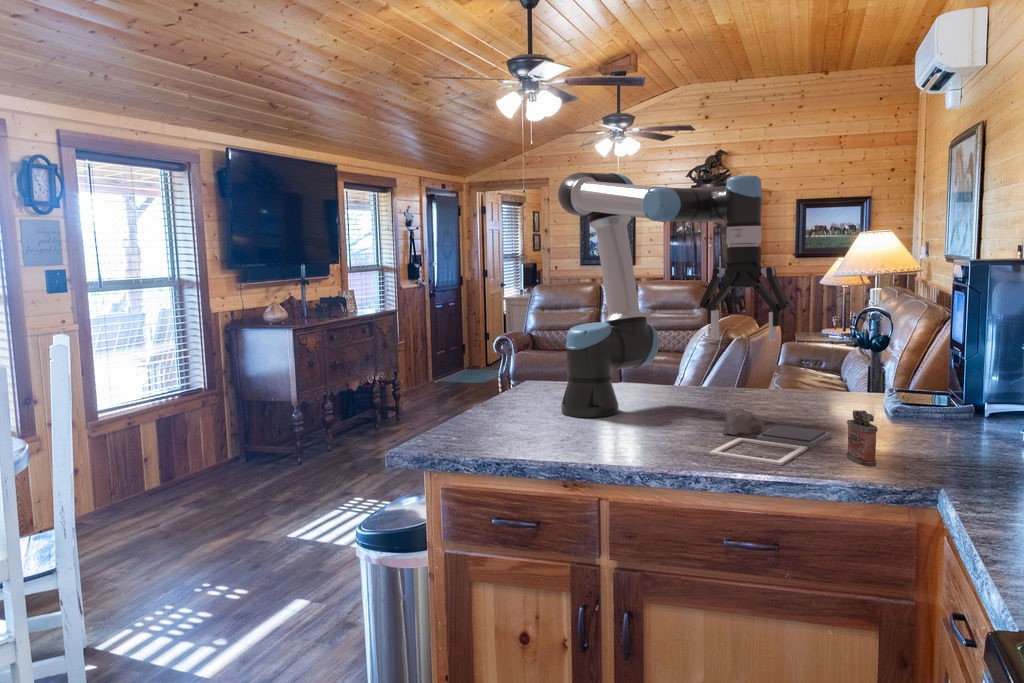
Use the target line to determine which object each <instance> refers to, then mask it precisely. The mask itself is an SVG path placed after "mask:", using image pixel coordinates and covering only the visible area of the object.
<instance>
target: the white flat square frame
mask: <svg viewBox="0 0 1024 683" xmlns="http://www.w3.org/2000/svg"><path fill="white" fill-rule="evenodd" d="M741 442H743V443H749V444H755V445H756V444H758V445H763V446H770V447H771V446H772V447H778V448H785V449H792V450H793V451H791V452H789V453H787V454H786V455H785V456H783V457H780V458H779V459H778V460H777V459H776V460H775V459H771V458H763V457H756V456H748V455H743V454H737V453H729V452H724V451H726V450H729V449H730V448H732V447H733V446H736V445H738V444H740V443H741ZM808 449H809V448H808V447H805V446H797V445H790V444H782V443H775V442H768V441H760V440H757V439H752V438H745V437H737V438H735V439H733V440H731V441H729V442H727V443H724V444H723V445H720V446H718V447H715V448H714V449H712V450H711V451H709V452H708V454H709V455H712V456H718V457H725V458H731V459H738V460H745V461H751V462H756V463H757V462H758V463H762V464H769V465H777V466H782V465H784V464H786V463H788V462H789V461H790V460H793V459H794V458H796V457H797V456H799V455H800V454H802V453H804V452H805V451H807V450H808Z"/></svg>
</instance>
